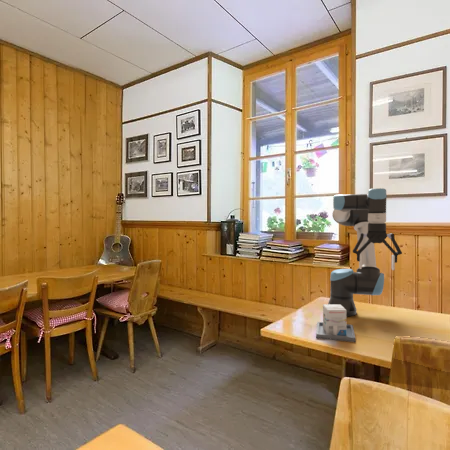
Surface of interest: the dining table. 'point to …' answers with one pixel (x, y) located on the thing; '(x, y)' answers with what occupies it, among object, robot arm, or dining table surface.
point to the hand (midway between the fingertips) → (376, 269)
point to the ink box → (334, 318)
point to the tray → (336, 337)
